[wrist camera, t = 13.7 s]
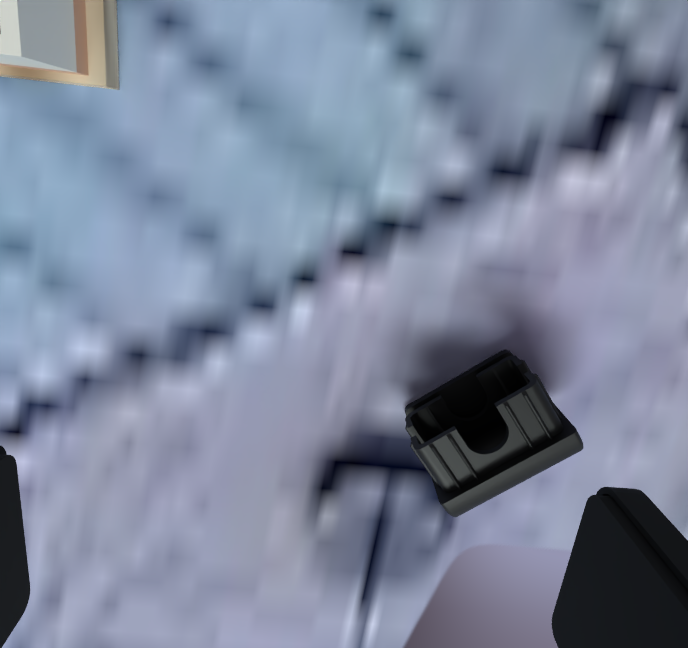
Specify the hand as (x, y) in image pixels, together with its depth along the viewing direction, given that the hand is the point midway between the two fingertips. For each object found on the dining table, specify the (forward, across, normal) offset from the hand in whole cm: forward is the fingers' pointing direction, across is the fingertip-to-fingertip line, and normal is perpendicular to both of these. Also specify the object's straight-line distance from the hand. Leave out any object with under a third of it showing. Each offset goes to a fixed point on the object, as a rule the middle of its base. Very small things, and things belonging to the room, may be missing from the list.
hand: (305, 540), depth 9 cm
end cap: (+29, -13, +12) cm, 34 cm away
